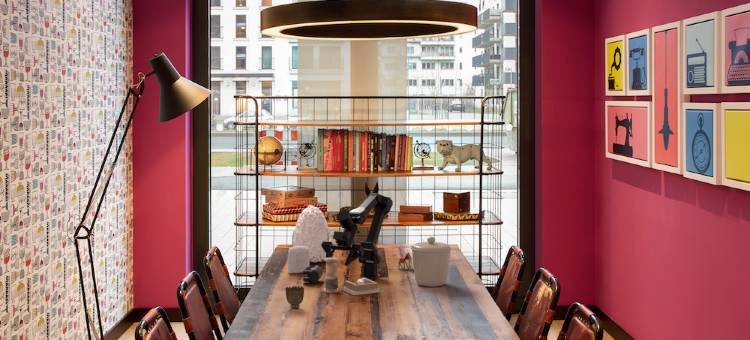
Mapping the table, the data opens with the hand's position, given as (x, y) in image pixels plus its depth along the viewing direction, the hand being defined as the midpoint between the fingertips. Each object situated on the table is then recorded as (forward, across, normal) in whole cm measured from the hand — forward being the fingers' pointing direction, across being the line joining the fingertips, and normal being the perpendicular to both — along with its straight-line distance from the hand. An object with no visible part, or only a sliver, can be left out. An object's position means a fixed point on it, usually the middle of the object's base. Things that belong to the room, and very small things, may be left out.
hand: (335, 264), depth 368 cm
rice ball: (-29, -43, +44) cm, 67 cm away
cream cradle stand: (+6, +11, +9) cm, 16 cm away
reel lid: (-4, +5, +19) cm, 20 cm away
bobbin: (+10, 0, +5) cm, 11 cm away
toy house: (-30, +7, +45) cm, 54 cm away
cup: (+33, +2, -17) cm, 37 cm away
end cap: (+3, -16, +13) cm, 20 cm away
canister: (-12, +32, +27) cm, 43 cm away
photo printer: (-9, -33, +24) cm, 41 cm away
